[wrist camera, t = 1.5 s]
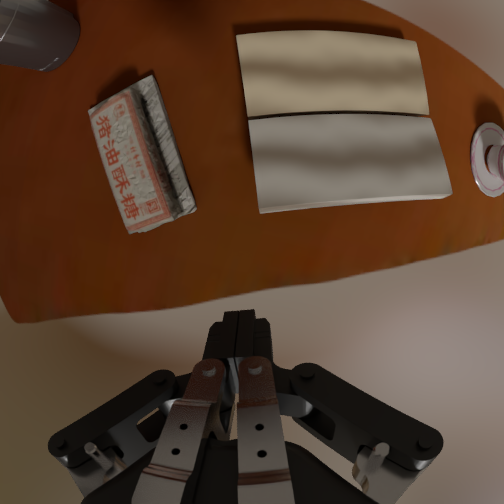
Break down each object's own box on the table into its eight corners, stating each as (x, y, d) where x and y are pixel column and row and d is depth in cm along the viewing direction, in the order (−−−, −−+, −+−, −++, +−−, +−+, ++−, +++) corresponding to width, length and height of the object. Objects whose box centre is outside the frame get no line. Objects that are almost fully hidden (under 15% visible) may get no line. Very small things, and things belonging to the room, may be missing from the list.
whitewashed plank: (250, 130, 29) (248, 120, 27) (422, 126, 28) (430, 118, 25) (259, 213, 28) (258, 208, 26) (442, 198, 27) (452, 193, 25)
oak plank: (237, 43, 26) (236, 35, 23) (406, 46, 24) (415, 41, 22) (248, 119, 29) (247, 116, 27) (418, 115, 28) (429, 114, 25)
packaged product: (191, 218, 29) (117, 244, 30) (200, 208, 34) (133, 232, 35) (142, 67, 23) (71, 108, 24) (156, 76, 27) (92, 110, 29)
